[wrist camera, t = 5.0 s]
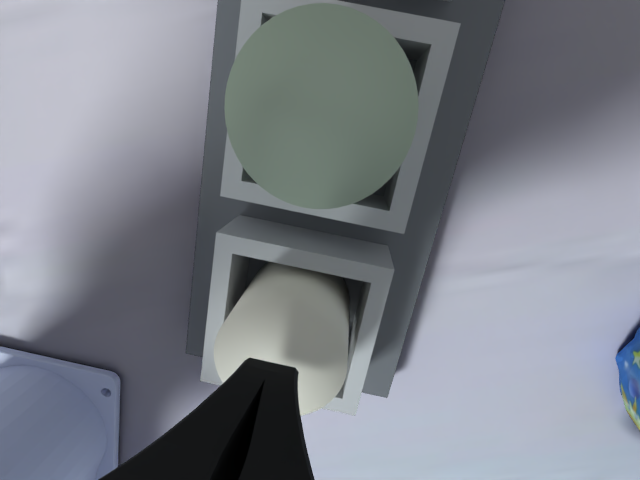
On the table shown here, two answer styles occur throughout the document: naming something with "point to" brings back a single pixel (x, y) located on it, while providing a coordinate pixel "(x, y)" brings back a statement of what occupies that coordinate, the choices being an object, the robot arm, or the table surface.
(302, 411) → the cream button
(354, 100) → the sage button
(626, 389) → the snack cup
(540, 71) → the table surface
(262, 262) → the button panel
